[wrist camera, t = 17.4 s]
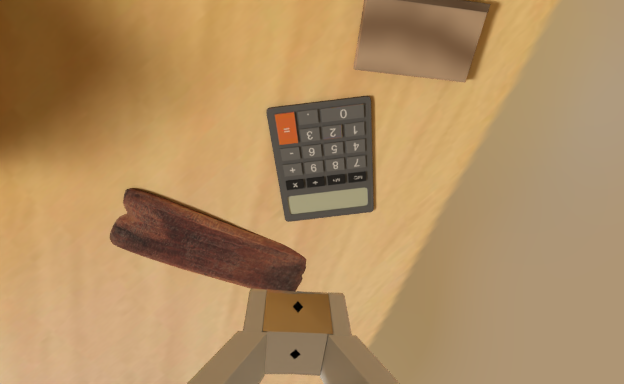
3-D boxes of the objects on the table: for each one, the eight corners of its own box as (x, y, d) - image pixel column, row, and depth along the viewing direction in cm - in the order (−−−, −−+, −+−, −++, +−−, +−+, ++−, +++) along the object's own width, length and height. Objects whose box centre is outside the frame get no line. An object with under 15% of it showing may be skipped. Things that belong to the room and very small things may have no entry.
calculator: (371, 96, 36) (373, 212, 43) (369, 94, 37) (372, 208, 44) (265, 109, 36) (285, 222, 43) (266, 107, 37) (285, 218, 44)
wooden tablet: (318, 261, 46) (286, 313, 49) (316, 252, 48) (286, 303, 51) (123, 184, 39) (100, 250, 42) (131, 178, 41) (108, 241, 44)
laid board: (460, 80, 36) (465, 82, 35) (353, 68, 35) (355, 69, 34) (483, 4, 33) (490, 4, 32) (366, -12, 32) (369, -13, 30)
